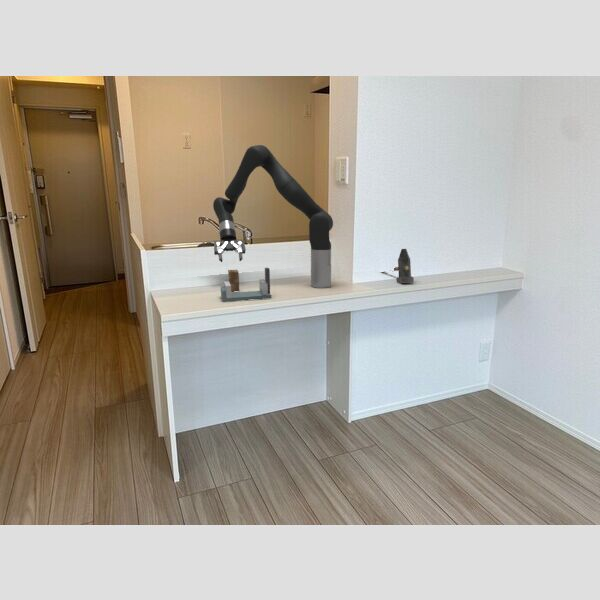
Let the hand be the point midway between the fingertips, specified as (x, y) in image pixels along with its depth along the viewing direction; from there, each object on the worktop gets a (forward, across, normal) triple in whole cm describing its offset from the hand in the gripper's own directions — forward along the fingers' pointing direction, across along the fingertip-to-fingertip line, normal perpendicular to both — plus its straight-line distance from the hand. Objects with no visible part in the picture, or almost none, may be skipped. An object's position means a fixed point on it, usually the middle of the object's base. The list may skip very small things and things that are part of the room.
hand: (231, 260), depth 212 cm
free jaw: (+23, +12, -8) cm, 27 cm away
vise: (+24, +3, -7) cm, 25 cm away
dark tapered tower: (+11, +80, +7) cm, 81 cm away
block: (+14, 0, +3) cm, 15 cm away
